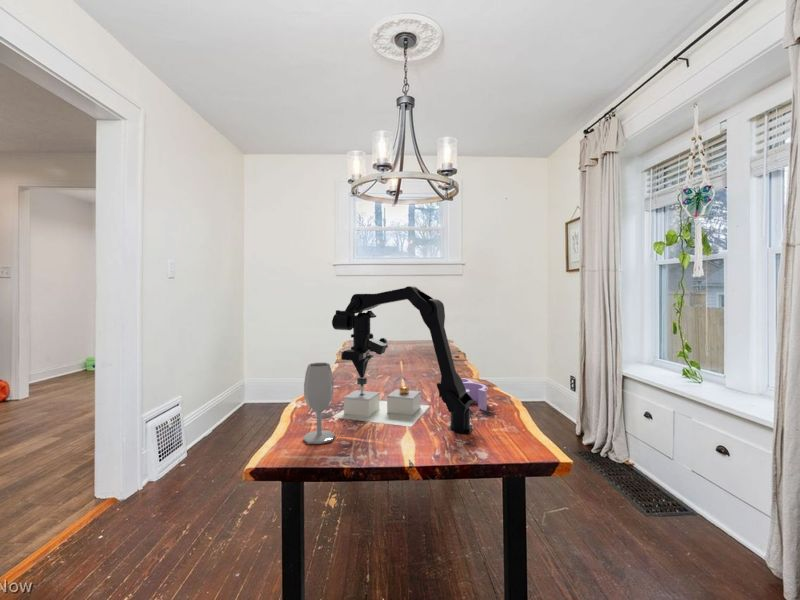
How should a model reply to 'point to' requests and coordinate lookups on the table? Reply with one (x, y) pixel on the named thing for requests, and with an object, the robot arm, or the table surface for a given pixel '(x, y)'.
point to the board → (387, 416)
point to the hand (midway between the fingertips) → (362, 377)
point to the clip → (476, 392)
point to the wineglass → (318, 398)
